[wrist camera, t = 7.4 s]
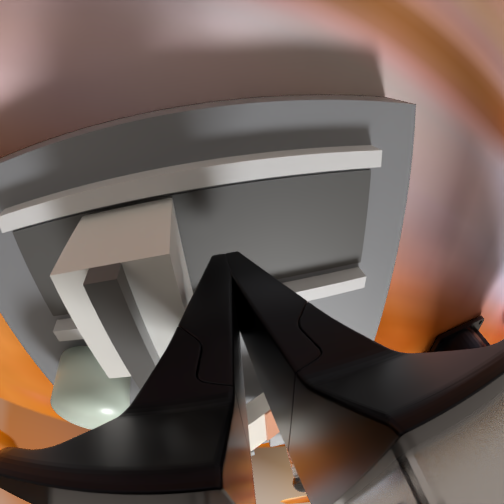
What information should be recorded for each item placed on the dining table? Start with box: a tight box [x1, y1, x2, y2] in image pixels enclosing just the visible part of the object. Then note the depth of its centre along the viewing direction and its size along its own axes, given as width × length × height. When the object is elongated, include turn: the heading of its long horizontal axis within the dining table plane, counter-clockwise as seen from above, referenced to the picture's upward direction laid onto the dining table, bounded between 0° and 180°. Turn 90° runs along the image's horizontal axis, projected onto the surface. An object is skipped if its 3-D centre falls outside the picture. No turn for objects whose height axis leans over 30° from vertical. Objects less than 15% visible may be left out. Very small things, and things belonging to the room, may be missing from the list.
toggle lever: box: [287, 450, 305, 492], centre depth 17 cm, size 2×2×4 cm
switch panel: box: [0, 95, 416, 456], centre depth 14 cm, size 18×23×5 cm
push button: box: [51, 346, 131, 429], centre depth 11 cm, size 4×4×2 cm
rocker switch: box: [246, 392, 280, 451], centre depth 14 cm, size 7×4×1 cm, turn 94°
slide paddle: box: [50, 198, 193, 390], centre depth 8 cm, size 3×4×4 cm
